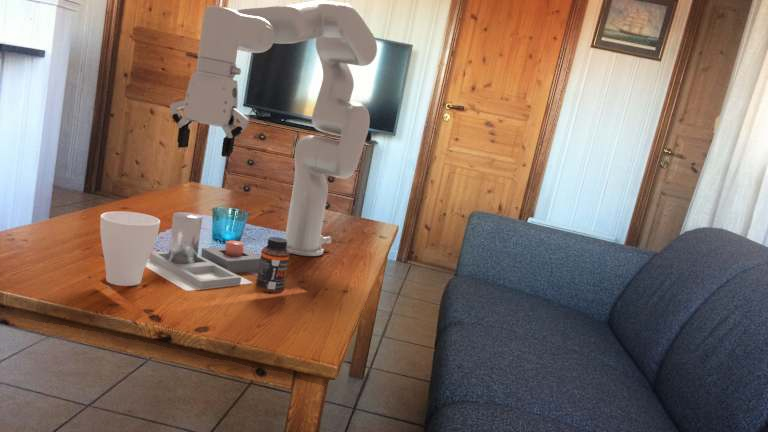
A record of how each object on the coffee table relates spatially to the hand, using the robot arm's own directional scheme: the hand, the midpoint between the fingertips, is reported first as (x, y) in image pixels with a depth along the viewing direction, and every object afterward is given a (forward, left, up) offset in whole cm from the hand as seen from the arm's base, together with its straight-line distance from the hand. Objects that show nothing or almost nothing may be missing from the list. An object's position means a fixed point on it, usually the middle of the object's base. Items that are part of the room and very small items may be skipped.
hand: (204, 151), depth 130 cm
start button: (-10, +2, -23) cm, 25 cm away
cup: (+17, +5, -27) cm, 32 cm away
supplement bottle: (-10, +16, -27) cm, 32 cm away
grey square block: (-10, +2, -26) cm, 28 cm away
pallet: (+1, +4, -26) cm, 27 cm away
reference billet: (+1, -1, -25) cm, 25 cm away
